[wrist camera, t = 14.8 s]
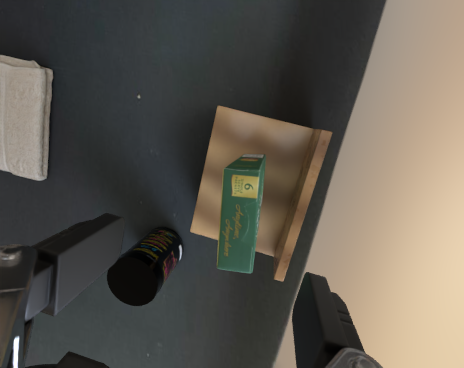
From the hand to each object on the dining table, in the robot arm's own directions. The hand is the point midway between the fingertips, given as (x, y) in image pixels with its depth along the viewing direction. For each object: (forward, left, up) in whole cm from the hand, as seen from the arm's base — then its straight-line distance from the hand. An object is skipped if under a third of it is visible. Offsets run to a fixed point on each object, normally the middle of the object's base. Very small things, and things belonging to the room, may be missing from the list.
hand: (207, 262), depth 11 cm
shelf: (0, +1, -28) cm, 28 cm away
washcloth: (+38, +2, -28) cm, 47 cm away
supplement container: (+11, +16, -28) cm, 34 cm away
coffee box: (-1, +1, -21) cm, 21 cm away
